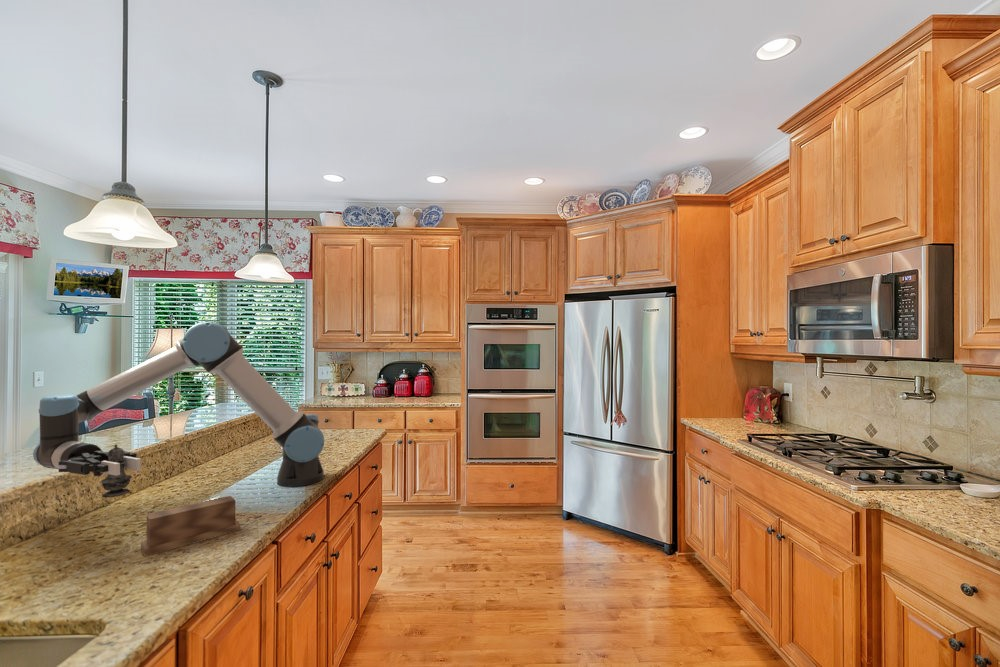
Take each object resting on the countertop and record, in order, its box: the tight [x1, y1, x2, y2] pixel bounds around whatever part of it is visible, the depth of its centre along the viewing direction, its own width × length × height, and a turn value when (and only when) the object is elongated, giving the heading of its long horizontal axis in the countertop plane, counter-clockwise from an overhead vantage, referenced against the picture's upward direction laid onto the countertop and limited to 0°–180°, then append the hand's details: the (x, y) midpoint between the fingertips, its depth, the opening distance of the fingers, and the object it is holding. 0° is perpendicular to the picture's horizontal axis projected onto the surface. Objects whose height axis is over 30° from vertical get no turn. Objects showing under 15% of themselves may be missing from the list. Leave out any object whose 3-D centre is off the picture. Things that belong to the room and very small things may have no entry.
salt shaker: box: [100, 443, 133, 499], centre depth 111 cm, size 6×6×12 cm
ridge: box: [140, 495, 241, 557], centre depth 115 cm, size 20×6×8 cm, turn 135°
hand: (128, 466), depth 109 cm, fingers closed on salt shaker, 4 cm apart
